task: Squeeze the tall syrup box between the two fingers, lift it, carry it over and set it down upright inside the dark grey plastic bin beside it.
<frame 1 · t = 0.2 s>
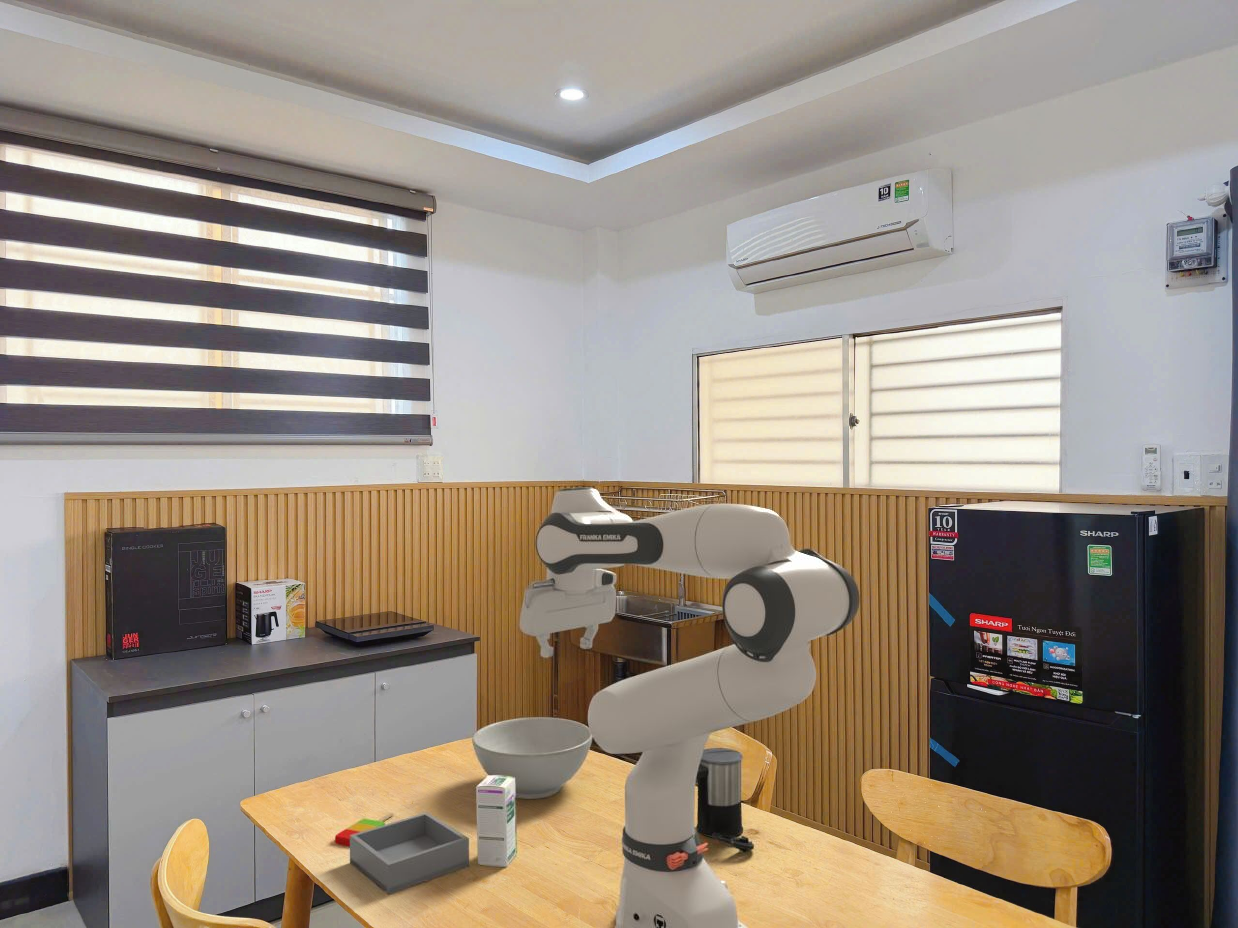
hand: (566, 652, 154), 39 cm above the table, tool pointing down, fingers open, 8 cm apart
syrup box: (497, 860, 157), on the table
milk frother: (726, 839, 166), on the table
bin: (409, 864, 156), on the table
decorative bowl: (533, 789, 192), on the table
popsicle: (369, 832, 171), on the table
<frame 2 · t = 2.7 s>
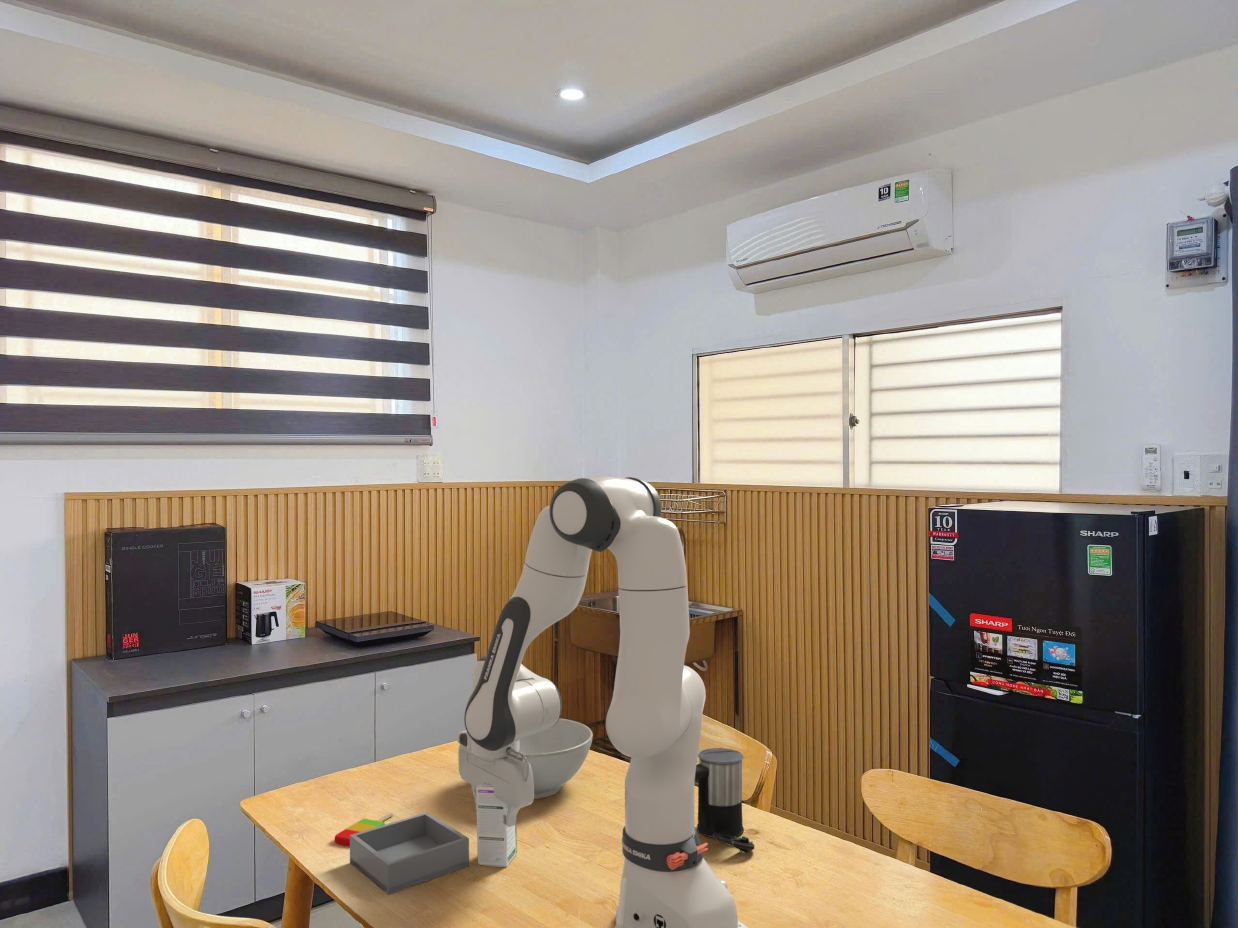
hand: (495, 816, 158), 8 cm above the table, tool pointing down, fingers open, 8 cm apart
syrup box: (497, 860, 157), on the table, touching gripper
everything else where it was.
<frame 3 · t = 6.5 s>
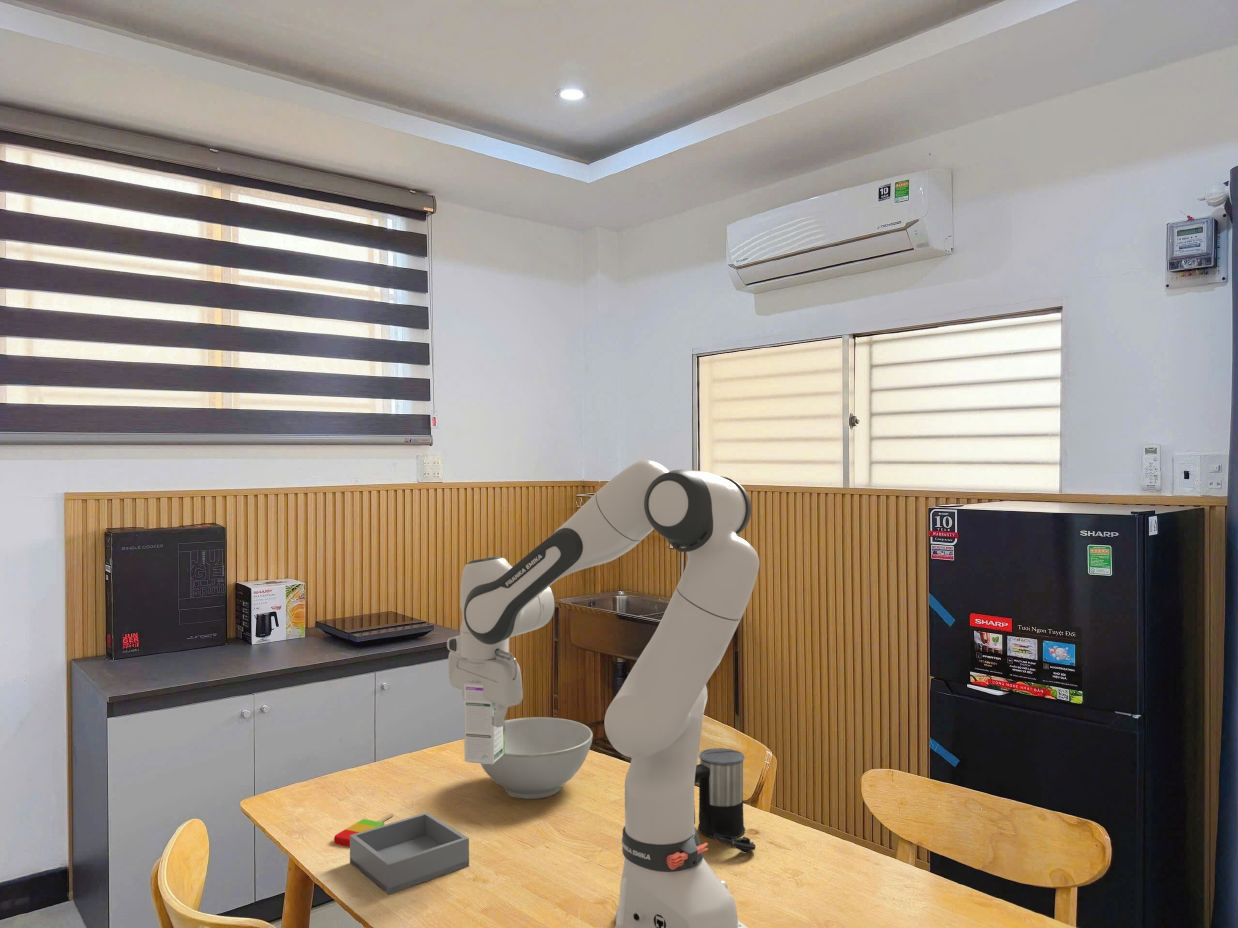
hand: (484, 720, 157), 25 cm above the table, tool pointing down, fingers closed on syrup box, 7 cm apart
syrup box: (484, 759, 157), point 18 cm above the table, touching gripper
everything else where it was.
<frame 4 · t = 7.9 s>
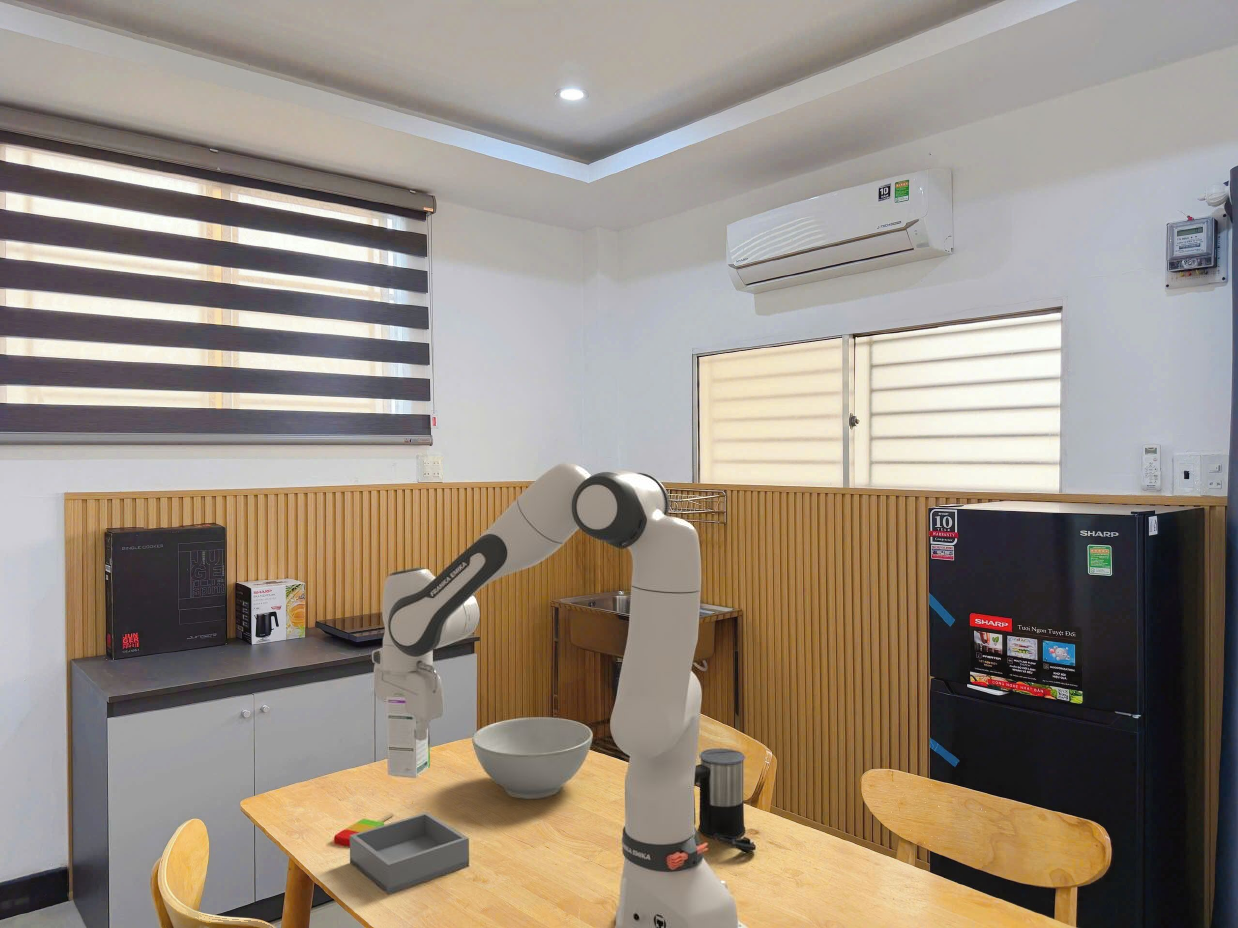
hand: (408, 733, 156), 24 cm above the table, tool pointing down, fingers closed on syrup box, 7 cm apart
syrup box: (408, 772, 156), point 17 cm above the table, touching gripper
everything else where it was.
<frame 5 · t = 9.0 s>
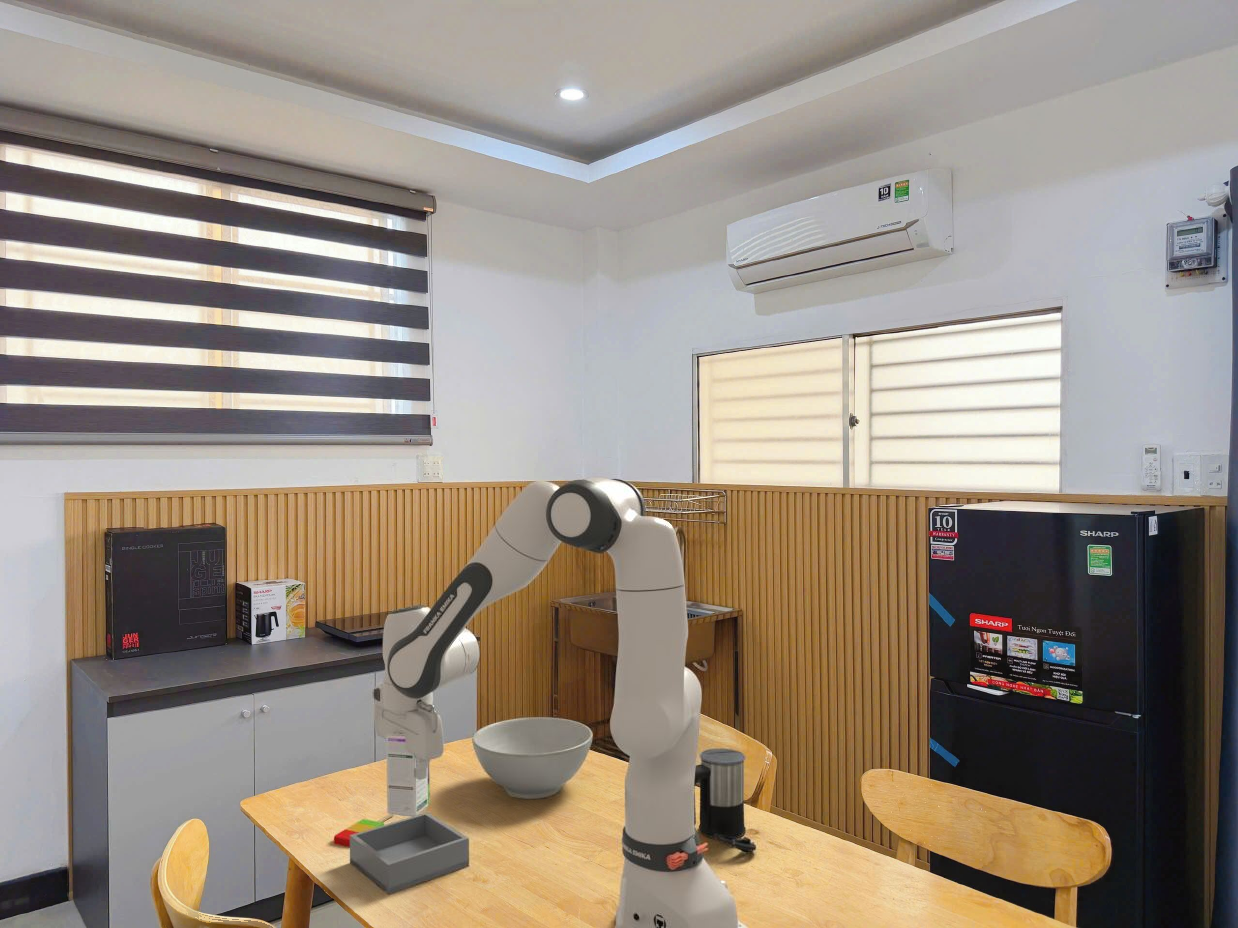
hand: (408, 771, 156), 17 cm above the table, tool pointing down, fingers closed on syrup box, 7 cm apart
syrup box: (408, 810, 156), point 10 cm above the table, touching gripper
everything else where it was.
when the fingers open (8 cm above the table, at t = 11.6 s): syrup box stays where it is, resting on bin.
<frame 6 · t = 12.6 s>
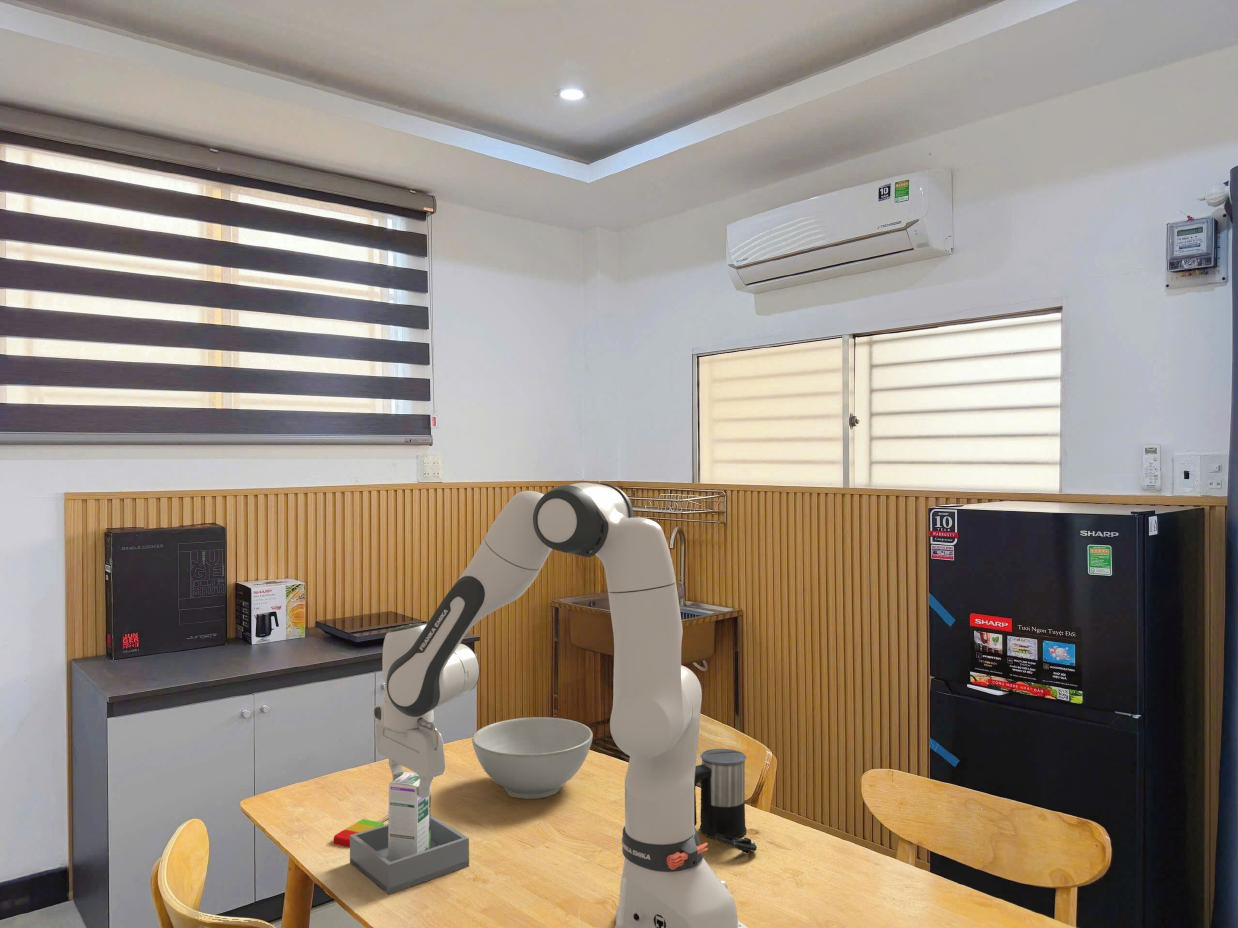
hand: (410, 789, 156), 14 cm above the table, tool pointing down, fingers open, 8 cm apart
syrup box: (408, 858, 156), point 1 cm above the table, touching bin
everything else where it was.
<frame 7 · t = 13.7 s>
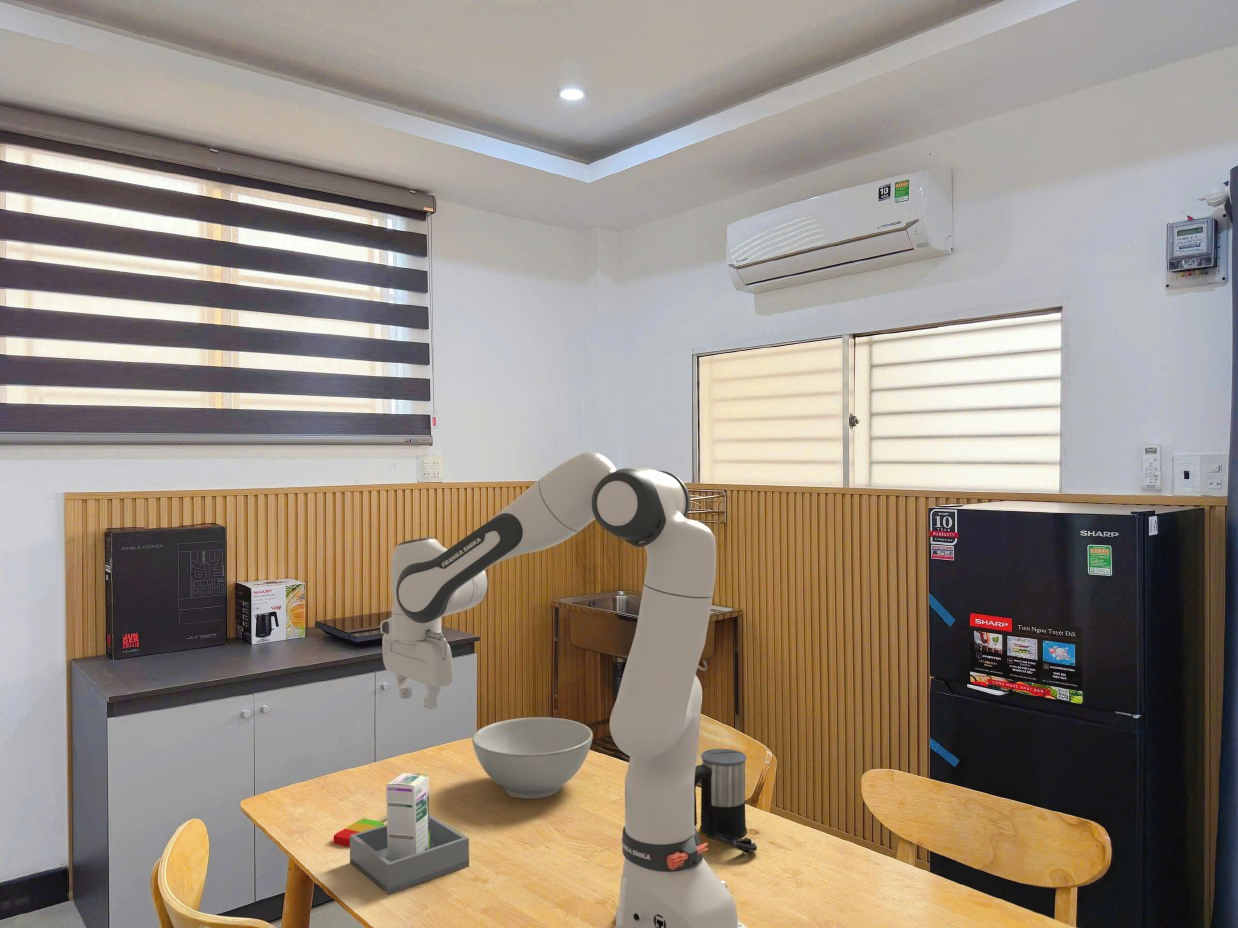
hand: (417, 702, 157), 29 cm above the table, tool pointing down, fingers open, 8 cm apart
nothing on the table moved.
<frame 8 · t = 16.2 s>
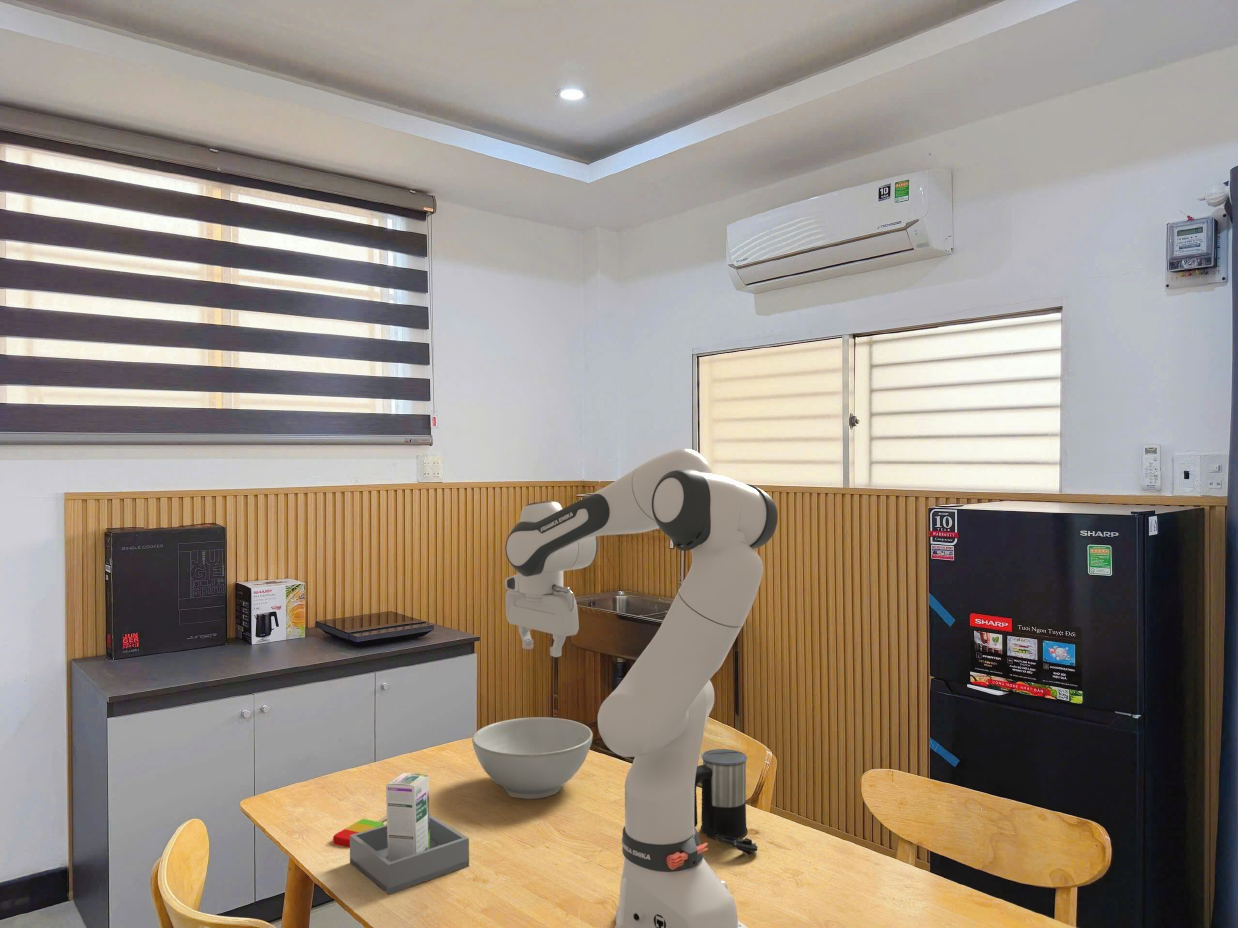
hand: (541, 652, 170), 35 cm above the table, tool pointing down, fingers open, 8 cm apart
nothing on the table moved.
at the end: syrup box inside the target area on the bin (0.2 cm from its centre), point 0.8 cm above the bin's base; syrup box tilted 0°; the gripper is holding nothing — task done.
